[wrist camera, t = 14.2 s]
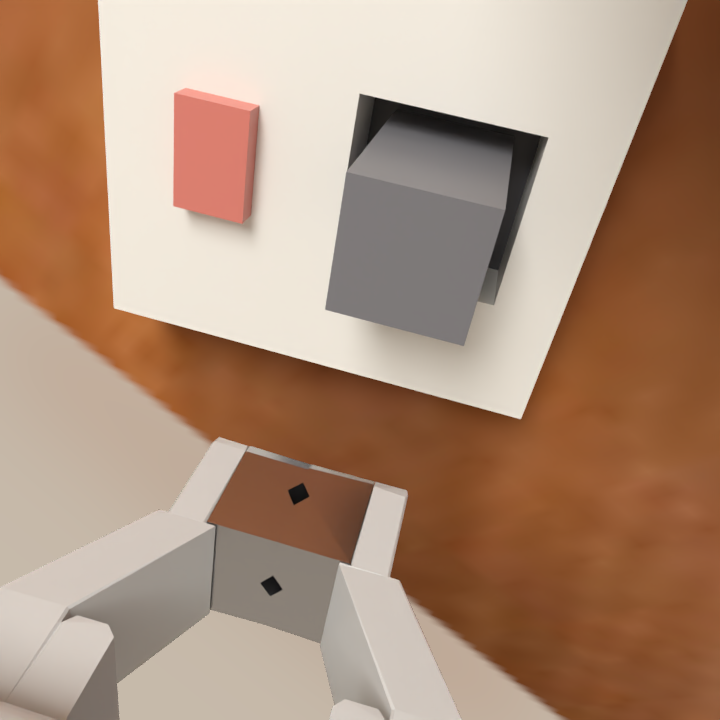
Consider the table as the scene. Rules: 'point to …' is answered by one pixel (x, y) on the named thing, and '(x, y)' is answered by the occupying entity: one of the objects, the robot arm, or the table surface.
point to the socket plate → (344, 145)
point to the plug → (420, 225)
